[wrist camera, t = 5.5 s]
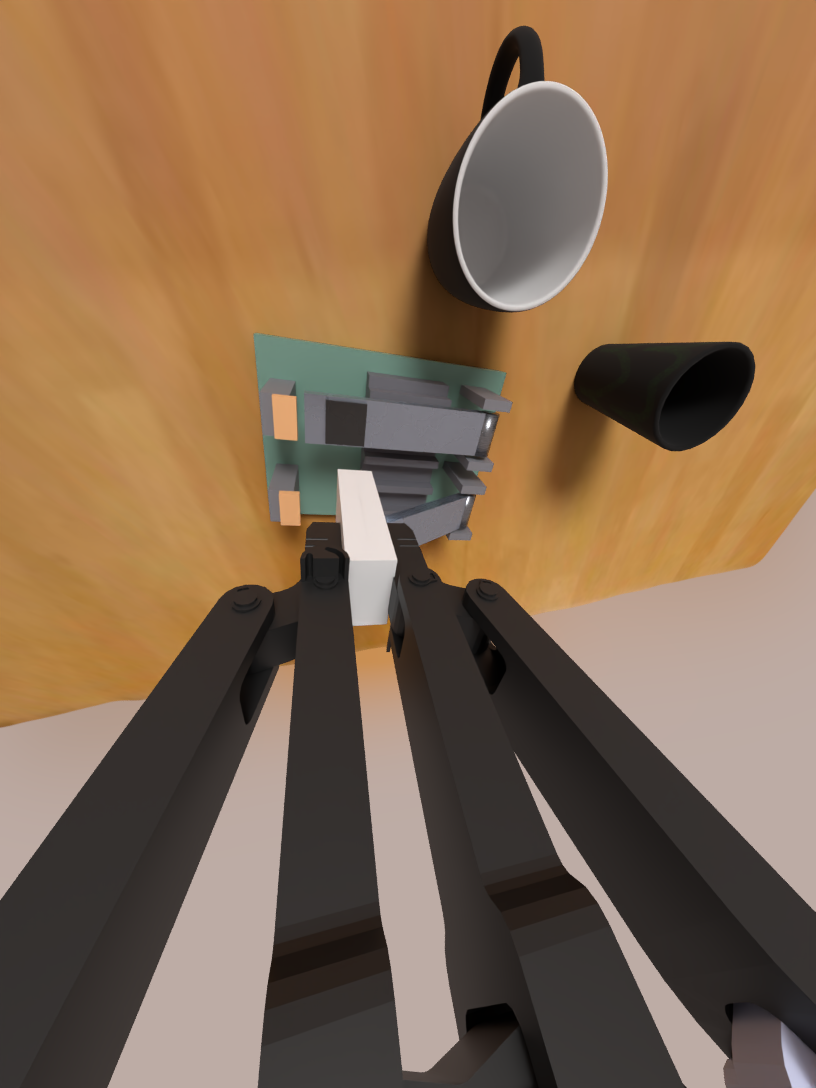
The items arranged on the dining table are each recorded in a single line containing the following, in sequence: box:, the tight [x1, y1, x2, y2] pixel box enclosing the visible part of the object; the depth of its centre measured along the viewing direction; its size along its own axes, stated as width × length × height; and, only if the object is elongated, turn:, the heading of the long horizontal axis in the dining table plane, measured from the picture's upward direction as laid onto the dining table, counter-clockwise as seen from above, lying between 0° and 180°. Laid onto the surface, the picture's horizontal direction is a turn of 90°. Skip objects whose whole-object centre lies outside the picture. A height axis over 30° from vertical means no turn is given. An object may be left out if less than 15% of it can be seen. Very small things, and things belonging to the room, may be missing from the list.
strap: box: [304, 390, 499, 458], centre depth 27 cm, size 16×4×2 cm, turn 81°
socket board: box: [254, 333, 513, 540], centre depth 31 cm, size 22×16×8 cm
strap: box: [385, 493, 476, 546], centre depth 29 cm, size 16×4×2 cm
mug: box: [427, 26, 608, 312], centre depth 21 cm, size 12×9×10 cm
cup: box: [574, 342, 755, 451], centre depth 30 cm, size 8×8×12 cm
